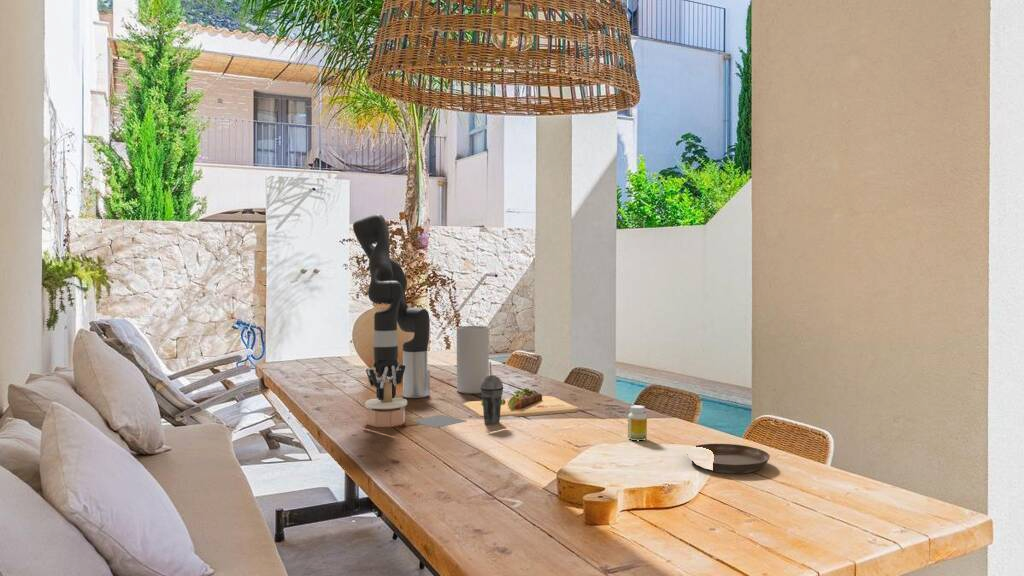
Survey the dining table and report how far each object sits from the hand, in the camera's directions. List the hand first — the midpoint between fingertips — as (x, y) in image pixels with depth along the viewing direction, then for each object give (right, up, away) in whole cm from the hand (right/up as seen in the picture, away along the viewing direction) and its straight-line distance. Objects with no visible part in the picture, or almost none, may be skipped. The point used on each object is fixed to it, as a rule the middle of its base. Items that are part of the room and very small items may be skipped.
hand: (386, 398), depth 231 cm
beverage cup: (+33, -8, 0) cm, 34 cm away
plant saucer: (+95, -11, -43) cm, 104 cm away
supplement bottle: (+76, -9, -18) cm, 78 cm away
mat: (+16, -8, +3) cm, 18 cm away
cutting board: (+42, -8, +24) cm, 49 cm away
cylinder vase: (+24, -6, +56) cm, 62 cm away
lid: (0, -2, 0) cm, 2 cm away
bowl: (0, -8, 0) cm, 8 cm away
